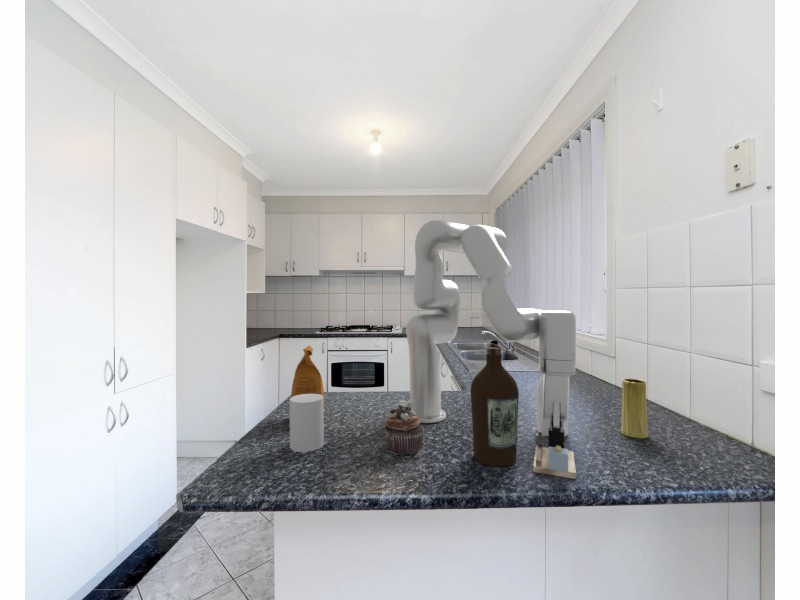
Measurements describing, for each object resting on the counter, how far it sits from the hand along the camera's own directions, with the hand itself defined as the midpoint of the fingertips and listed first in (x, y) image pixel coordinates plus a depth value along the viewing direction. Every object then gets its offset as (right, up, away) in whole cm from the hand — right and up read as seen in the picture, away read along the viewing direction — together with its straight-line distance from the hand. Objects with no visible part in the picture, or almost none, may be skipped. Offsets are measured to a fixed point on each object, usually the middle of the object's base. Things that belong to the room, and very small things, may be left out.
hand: (556, 447), depth 81 cm
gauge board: (-1, -3, -2) cm, 4 cm away
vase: (+27, -3, +15) cm, 31 cm away
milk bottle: (+6, -3, +16) cm, 18 cm away
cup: (-58, -4, +9) cm, 59 cm away
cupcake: (-34, -3, +7) cm, 35 cm away
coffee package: (-63, -4, +28) cm, 69 cm away
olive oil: (-13, -3, +1) cm, 14 cm away
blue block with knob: (-2, -1, -7) cm, 7 cm away
